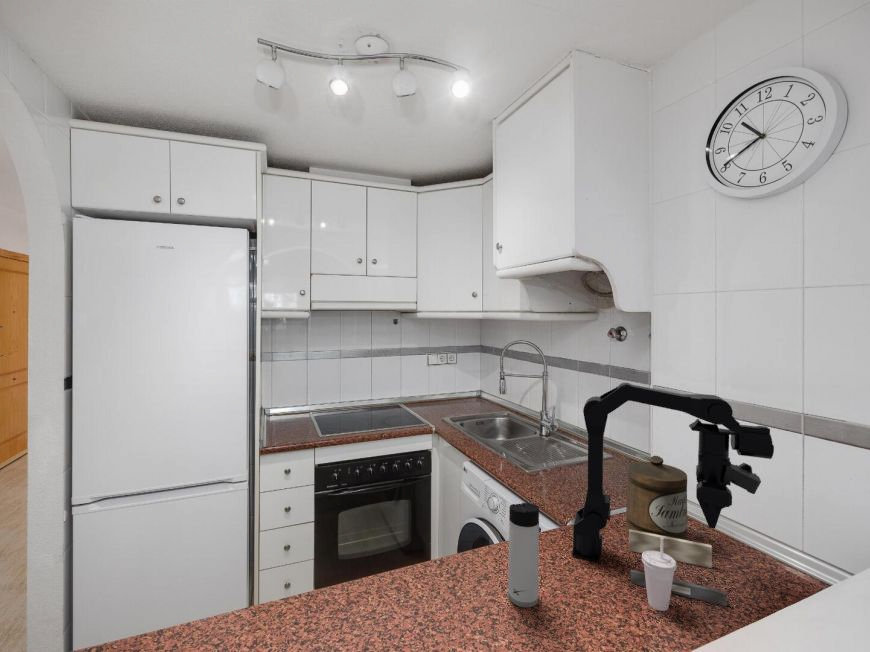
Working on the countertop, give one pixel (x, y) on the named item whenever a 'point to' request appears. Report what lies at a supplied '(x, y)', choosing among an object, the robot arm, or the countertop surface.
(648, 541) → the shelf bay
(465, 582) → the countertop surface
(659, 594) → the smoothie
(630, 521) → the wooden container
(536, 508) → the travel mug
